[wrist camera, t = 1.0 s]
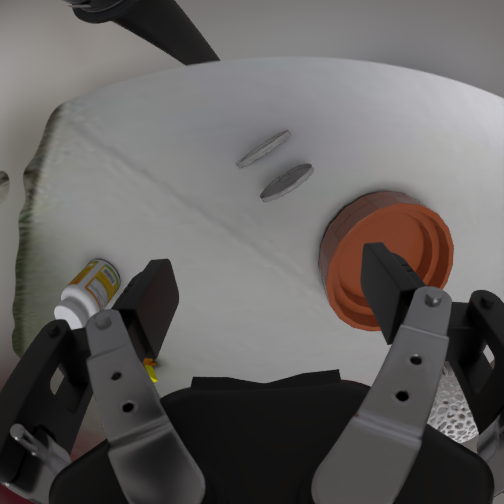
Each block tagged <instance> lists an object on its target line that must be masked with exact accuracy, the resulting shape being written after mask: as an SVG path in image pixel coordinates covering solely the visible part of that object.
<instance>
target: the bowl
mask: <svg viewBox="0 0 504 504" xmlns="http://www.w3.org/2000/svg"><path fill="white" fill-rule="evenodd" d="M374 242H383V243H384V245H385V246H386V247H387V248H388V249H389V250H390V252H391V253H396V254H398V255H400V256H401V257H403V258H404V259H405V260H406V261H407V262H408V264H409V266H411V267H412V268H413V270H414V271H415V272H416V273H417V274H418V276H419V277H420V278H421V279H422V280H423V282H424V283H425V284H426V285H427V286H431V287H436V288H439V289H442V290H443V288H444V287H445V285H446V283H447V281H448V278H449V275H450V272H451V269H452V266H453V250H454V245H453V242H452V238H451V234H450V231H449V228H448V227H447V225H446V224H445V223H444V221H443V220H442V219H441V217H440V216H439V215H438V214H437V213H436V212H434V211H433V210H431V209H430V208H428V207H427V206H425V205H424V204H422V203H420V202H419V201H417V200H415V199H413V198H412V197H410V196H408V195H406V194H404V193H399V192H389V191H381V192H377V193H374V194H370V195H366V196H363V197H361V198H360V199H358V200H356V201H355V202H353V203H352V204H350V205H349V206H347V207H345V209H343V210H342V212H341V213H340V214H339V215H338V216H337V217H336V219H335V220H334V221H333V222H332V223H331V224H330V225H329V228H328V230H327V232H326V234H325V237H324V239H323V241H322V243H321V247H320V255H319V269H320V274H321V278H322V282H323V285H324V288H325V292H326V295H327V298H328V301H329V304H330V306H331V307H332V309H333V310H334V312H335V313H336V314H337V316H338V317H339V319H341V320H342V321H344V322H345V323H347V324H348V325H350V326H352V327H353V328H357V329H361V330H366V331H381V329H380V327H379V325H378V323H377V321H376V318H375V316H374V314H373V312H372V310H371V308H370V306H369V304H368V302H367V300H366V298H365V296H364V294H363V292H362V289H361V282H360V276H361V265H362V253H363V246H364V244H365V243H374Z"/></svg>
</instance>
